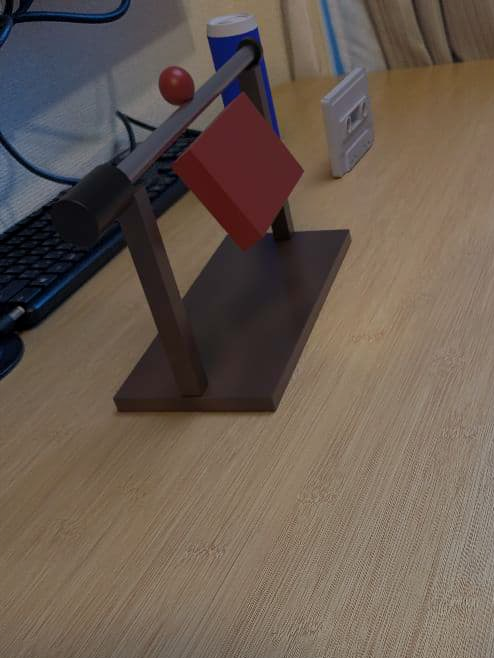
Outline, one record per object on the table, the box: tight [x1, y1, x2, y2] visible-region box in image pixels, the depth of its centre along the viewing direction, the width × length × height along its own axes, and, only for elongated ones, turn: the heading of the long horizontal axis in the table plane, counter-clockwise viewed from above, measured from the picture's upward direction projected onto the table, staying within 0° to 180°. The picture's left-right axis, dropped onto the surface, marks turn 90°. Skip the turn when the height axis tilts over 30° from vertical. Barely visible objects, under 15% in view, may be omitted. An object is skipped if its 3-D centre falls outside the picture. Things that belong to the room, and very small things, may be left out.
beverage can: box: [205, 12, 282, 141], centre depth 86 cm, size 5×5×15 cm
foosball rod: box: [50, 36, 305, 252], centre depth 57 cm, size 3×33×11 cm, turn 171°
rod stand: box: [112, 64, 352, 413], centre depth 63 cm, size 12×27×15 cm, turn 170°
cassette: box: [320, 66, 375, 178], centre depth 89 cm, size 12×2×8 cm, turn 162°
